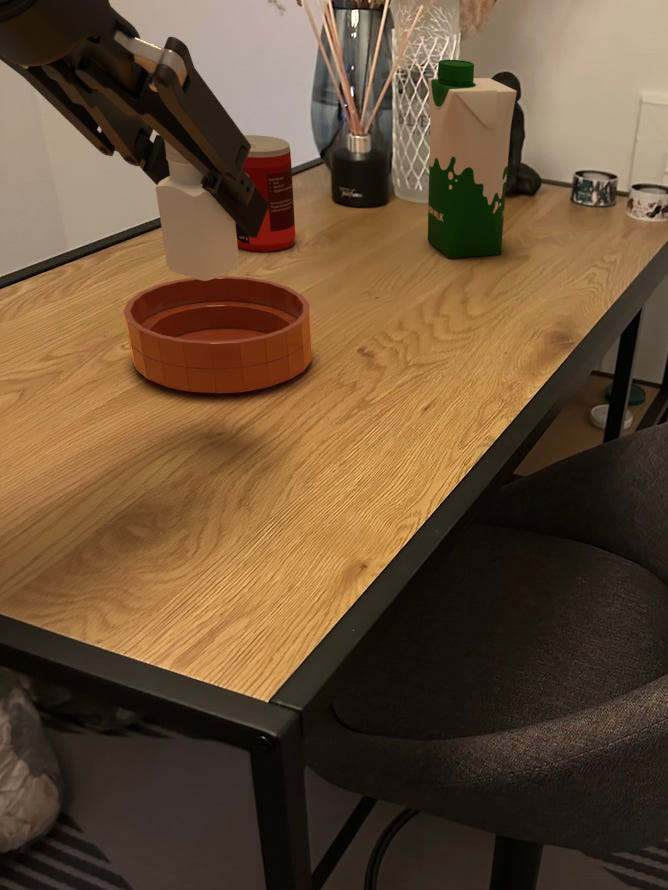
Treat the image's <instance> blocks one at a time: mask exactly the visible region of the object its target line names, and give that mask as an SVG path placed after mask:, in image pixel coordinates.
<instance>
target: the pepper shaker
mask: <svg viewBox="0 0 668 890" xmlns="http://www.w3.org/2000/svg"><path fill="white" fill-rule="evenodd" d="M164 142H165V149H166V159H167V161H168V165H169V172H170V176H168V177H166V178H165V179H163V180H161V181H160V182H159V183H158V184H157V185H155V192H156V193H155V194H156V199H157V205H158V213H159V219H160V226H161V233H162V240H163V247H164V254H165V260H166V265H167V267H168V269H169V270H170V271H171V272H173V273H176V274H179V275H183V276H185V277H188V278H195V279H198V280H202V281H208V280H211V279H213V278H216V277H219V276H225V275H227V274H229V273H231V272H234V271H235V272H236V271H237V270H238V269H239V267H240V256H239V248H238V245H237V235H236V225H235V221H234V220H233V218H232V217H231V216H230V215H229V214H228V213H227V212H226V211H225V210H224V208H223V207H222V206H221V205H220V204H219V203H218V202H217V201H216V199H215V198H214V197H213V196H212V195H211V194H210V193H209V192H208V191H206V190H204V189H203V188H202V184H201V180H202V178H203V174H202V173H201V172H199V171H198V170H197V169H196V168H195V167H194V166H193V165H192V164H191V163H190V162H189V161H187V160H186V159H185V158H184V157H183V156H182V155H181V154H180V153H179V152H178V151H177V150H175V149H174V148H173V147H172V146H171V145H170V144H169V143H168V142H167V141H166V140H165V139H164Z"/></svg>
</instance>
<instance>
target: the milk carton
mask: <svg viewBox="0 0 668 890" xmlns="http://www.w3.org/2000/svg"><path fill="white" fill-rule="evenodd" d="M427 87H428V103H429V121H430V122H429V163H428V165H429V166H428V167H429V168H428V198H427V199H428V201H427V204H428V205H427V241H428V243H430V244H431V245H432V246H433V247H434V248H435V249H437V250H438V251H439V252H440V253H442V254H443V255H444V256H445V257H446V258H447V259H462V258H473V257H484V256H498V255H502V248H503V247H502V245H503V234H504V233H503V232H504V219H505V207H506V205H505V204H506V192H507V179H508V166H509V153H510V140H511V131H512V130H511V129H512V122H513V116H514V109H515V104H516V99H517V94H518V91H517V90H516V89H514V88H511V87H509V86H507V85H505V84H503V83H501V82H499V81H496V80H495V79H492V78H489V77H475V63H474V62H472V61H467V60H461V59H441V60H438V62H437V77H428V78H427Z"/></svg>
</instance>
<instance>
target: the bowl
mask: <svg viewBox="0 0 668 890" xmlns="http://www.w3.org/2000/svg"><path fill="white" fill-rule="evenodd" d="M122 313H123V317H124V323H125V328H126V329H125V330H126V334H127V338H128V339H127V340H128V344H129V350H130V355H131V360H132V363H133V366H134V369H135V370H136V371H137V372H138V373H139V374H141V375H142V376H143V377H144V378H146V380H149V381H151V382H154V383H155V384H158V385H161V386H163V387H165V388H169V389H174V390H179V391H184V392H188V393H189V392H191V393H204V394H205V393H206V394H231V393H245V392H251V391H256V390H261V389H266V388H269V387H273V386H276V385H279V384H281V383H284V382H287V381H290V380H292V379H293V378H295V377H296V376H298V375H300V374H301V373H302V372H304V371H306V369H307V367H308V366H309V365H310V364H311V362H312V360H313V345H312V344H313V342H312V327H311V325H312V323H311V307H310V303H309V301H308V300H307V299H306V298H305V296H304V295H302V293H299V292H298V291H296V290H294V289H293V288H292V287H290V286H286V285H283V284H280V283H277V282H275V281H271V280H265V279H259V278H254V277H248V276H232V275H221V276H219V277H216V278H213V279H211V280H208V281H202V280H198V279H195V278H192V277H188V278H181V279H174V280H172V281H167V282H163V283H159V284H156V285H153V286H151V287H149V288H146V289H144V290H141V291H139V292H138V293H136V294H135V295H134V296H133V297H131V298H130V299H128V301H127V302H126V304H125V307H124V308H123V311H122Z"/></svg>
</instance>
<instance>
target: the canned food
mask: <svg viewBox="0 0 668 890" xmlns="http://www.w3.org/2000/svg"><path fill="white" fill-rule="evenodd" d="M243 135H244V136H245V138H246V139H247V141H248V142H249V143H250V145H251V149H250V151H249V154H248V156H247V159H246V161H245V164H244V167H243V170H244V171H245V173H246V175H248V176H249V178H250V179H251V180H252V181H253V183H254V185H255V187H256V189H257V190H258V191H259V192H260V194H261V195H262V196H263V197H264V199H265V200H266V201H267V202H268V204H269V207H268V210H267V212H266V215H265V218H264V220H263V223H262V225H261V228H260V230H259V233H258V236H257V238H254V237H249V236H247V234H246V233H245V232H244V231H243V230H242V229H241V228H240V226H239V225H238V224H237V223H236V222H235V225H236V235H237V245H238V249H240V250H244V249H245V250H244V251H251V252H261V253H264V252H265V253H266V252H267V253H269V252H278V251H283V250H287V249H289V248H290V247H292V246H293V245H294V243H295V239H296V220H295V218H296V217H295V205H294V204H295V203H294V202H295V201H294V184H293V170H292V169H293V168H292V156H291V155H292V154H291V147H290V143H289V142H288V141H287V140H284V139H282V138H278V137H274V136H269V135H257V134H243Z"/></svg>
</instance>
